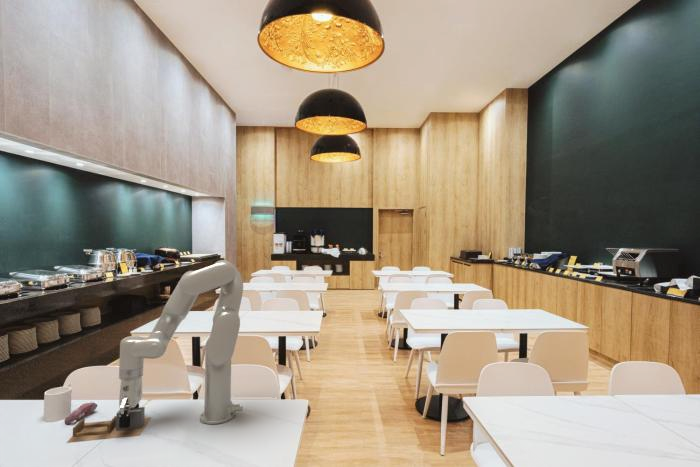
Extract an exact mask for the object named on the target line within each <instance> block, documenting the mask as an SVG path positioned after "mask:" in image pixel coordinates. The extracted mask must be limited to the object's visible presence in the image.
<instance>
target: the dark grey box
mask: <svg viewBox="0 0 700 467" xmlns="http://www.w3.org/2000/svg"><path fill="white" fill-rule="evenodd" d="M145 408H146V407H145V406H142V407H140V406H139V408H131V409H130V414H129V415H130V427H128V428H119V418H120V417H119V415H120V413H119V412H120V409H119V410H118V411H117V412H116V414H115V416H116V431H120V430H131V429H141V428H142V427H143V425H144V418H145V413H146V412H145V411H146V410H145ZM125 410H126V411H128V409H125Z"/></svg>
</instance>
